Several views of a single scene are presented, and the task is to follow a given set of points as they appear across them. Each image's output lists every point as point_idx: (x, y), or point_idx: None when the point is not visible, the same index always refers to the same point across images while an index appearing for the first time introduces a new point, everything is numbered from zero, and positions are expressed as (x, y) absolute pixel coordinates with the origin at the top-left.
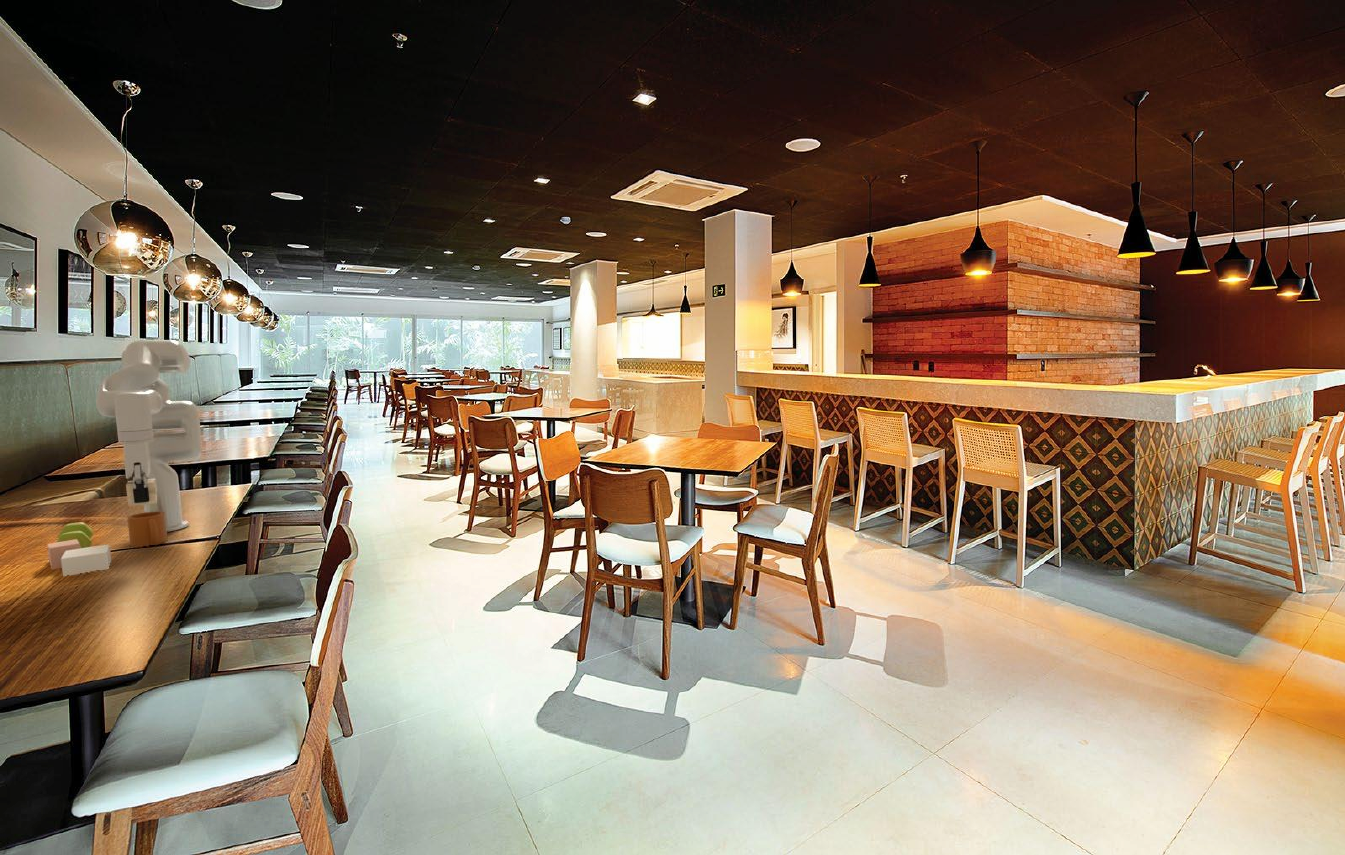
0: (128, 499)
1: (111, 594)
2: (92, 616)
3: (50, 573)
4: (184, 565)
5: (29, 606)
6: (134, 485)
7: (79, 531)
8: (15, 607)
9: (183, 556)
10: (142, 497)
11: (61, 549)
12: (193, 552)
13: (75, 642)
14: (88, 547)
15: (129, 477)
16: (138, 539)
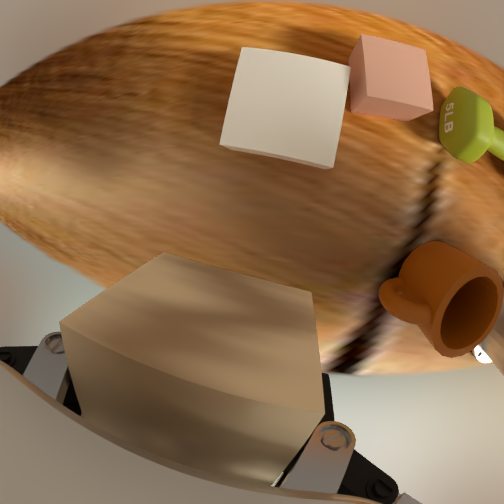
0: (140, 271)
1: (54, 152)
2: (9, 139)
3: (308, 51)
4: None
5: (88, 51)
6: (40, 351)
7: (483, 135)
8: (100, 34)
9: None
10: None
11: (360, 59)
12: None
13: None
14: (339, 114)
15: (118, 440)
16: (419, 259)
